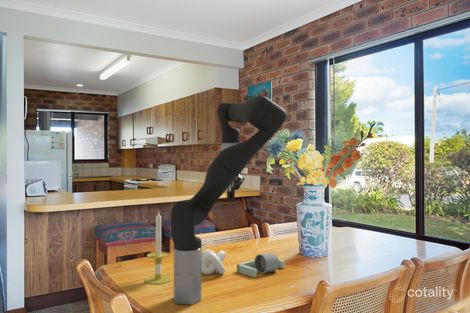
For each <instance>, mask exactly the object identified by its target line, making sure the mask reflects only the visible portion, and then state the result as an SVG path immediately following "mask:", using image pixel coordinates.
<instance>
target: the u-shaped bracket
mask: <svg viewBox="0 0 470 313" xmlns="http://www.w3.org/2000/svg"><path fill="white" fill-rule="evenodd" d="M278 259H279V266H278V268H280V269H284V268H285V267H286V265H285V264H286V261H285V260H283V259H280V258H278ZM254 261H255V259H251V260H248V261H244V262H240V263H237V264H236V272H238V273H241V274H243V275H246V276H249V277H252V278H256V277H258V271H257V269H256V268H255V267H254Z"/></svg>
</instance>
